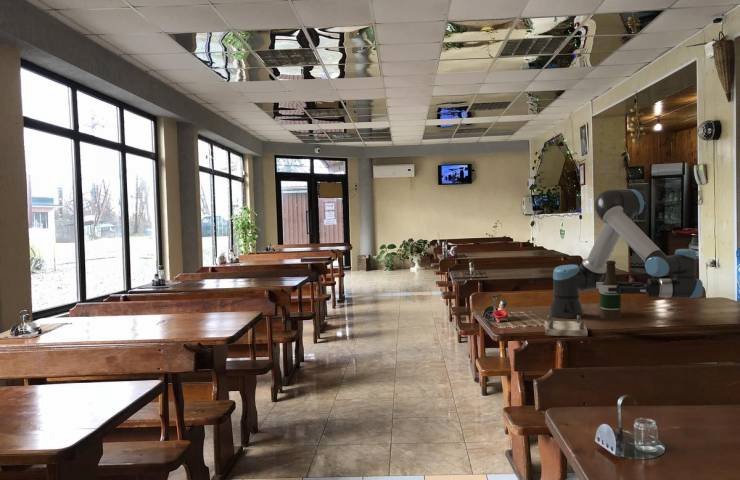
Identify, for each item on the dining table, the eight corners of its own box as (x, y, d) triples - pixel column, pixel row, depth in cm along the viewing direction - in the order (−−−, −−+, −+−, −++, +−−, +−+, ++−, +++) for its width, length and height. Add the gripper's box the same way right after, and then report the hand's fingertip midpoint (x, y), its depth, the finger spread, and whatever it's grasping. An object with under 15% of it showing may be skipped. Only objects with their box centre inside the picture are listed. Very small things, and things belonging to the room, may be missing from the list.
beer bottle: (619, 317, 242) (620, 259, 240) (621, 321, 235) (622, 262, 233) (599, 316, 244) (600, 259, 242) (600, 320, 237) (601, 262, 235)
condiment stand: (546, 335, 239) (545, 322, 238) (544, 326, 254) (544, 314, 254) (587, 336, 235) (587, 323, 234) (583, 327, 250) (583, 314, 250)
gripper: (664, 302, 224) (601, 301, 230) (652, 292, 244) (594, 291, 250) (664, 283, 224) (601, 282, 230) (653, 275, 243) (594, 274, 249)
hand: (597, 287), depth 240 cm, fingers closed on beer bottle, 7 cm apart
